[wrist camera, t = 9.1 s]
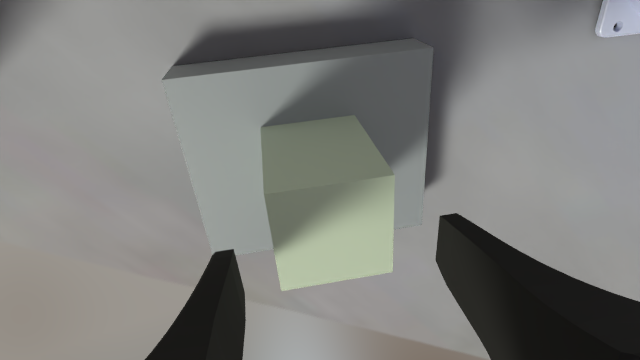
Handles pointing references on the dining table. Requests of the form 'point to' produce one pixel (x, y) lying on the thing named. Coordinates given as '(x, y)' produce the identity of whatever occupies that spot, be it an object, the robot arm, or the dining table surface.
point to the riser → (291, 107)
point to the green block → (327, 202)
